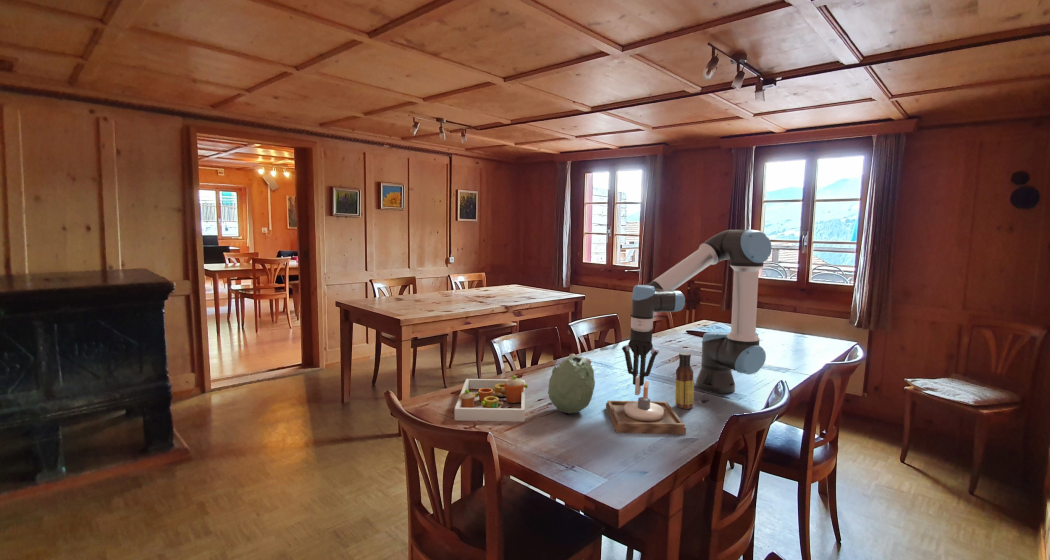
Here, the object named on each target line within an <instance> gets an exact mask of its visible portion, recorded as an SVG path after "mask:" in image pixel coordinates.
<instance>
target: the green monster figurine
mask: <svg viewBox="0 0 1050 560" xmlns="http://www.w3.org/2000/svg"><path fill="white" fill-rule="evenodd" d="M591 364H592V360H591V359H590V358H588V357H586V358H585V357H583V356H579V355H576V354H575V353H569V356H568V357H567V358H565V359H564V360H562V361H561V362H559V365H558V366H555V365H554V366H553V368H552V371H551V375H550V378H549V381H548V390H547V394H548V398H549V401H550V402H551V403H552V404H553V406H555V408H556V409H557V410H559V411H560V412H562V413H565V414H575V413H577V414H578V413H579V412H581V411H583V410H584V409H586V408H587V407H588V406H589V405H590V402H591V401H592V398H593V394H594V390H595V386H596V385H595V384H596V381H595V371H594V368H593V365H591Z"/></svg>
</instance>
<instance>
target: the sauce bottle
mask: <svg viewBox="0 0 1050 560" xmlns="http://www.w3.org/2000/svg"><path fill="white" fill-rule="evenodd" d="M691 356H692V354H691V353H689V352H679V353H678V358H679V361H678V367H677V368H676V370H675V406H676V407H677V408H679V409H683V410H689V409H693V406H694V385H695V384H694V381H695V380H694V371H693V368H692V366H691V358H692V357H691Z"/></svg>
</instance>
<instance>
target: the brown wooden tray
mask: <svg viewBox="0 0 1050 560" xmlns="http://www.w3.org/2000/svg"><path fill="white" fill-rule="evenodd" d="M633 401H634V400H607V401H606V402H605V409H606V412H607V414H608V417H609V418H610V421H611V423H612V426H613V427H614V431H615V433H616V434H651V435H653V434H654V435H655V434H656V435H657V434H660V435H661V434H662V435H666V434H667V435H668V434H669V435H686V434H687V427H686V424H685V423H684V422H683V421H682V419H681V418H680V417H679V416H678V414H677V412H676V411H674V409H673V408H672V406H670V404H669V403H668V402H667V401H665V400H664V401H661V400H660V401H654V400H653V401H652V400H650V402H651V403H655V404H658V405H660V406H661V407H663V409H664V415H663V418H661V419H659V420H654V421H643V420H637V419H633V418H630V417H628V416H627V415H625V413H624V405H625V404H626V403H629V402H633Z"/></svg>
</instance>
